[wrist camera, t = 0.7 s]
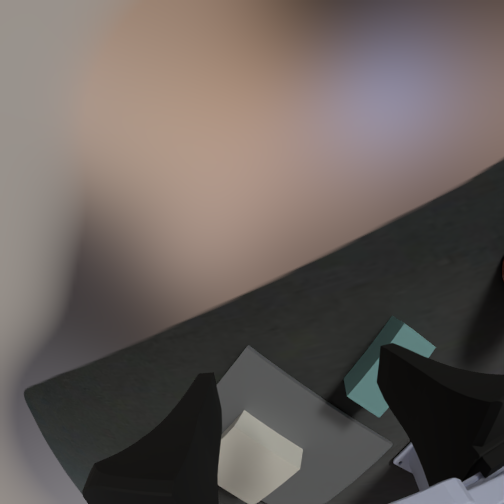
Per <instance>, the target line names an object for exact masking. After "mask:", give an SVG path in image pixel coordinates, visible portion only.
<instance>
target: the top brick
mask: <svg viewBox="0 0 504 504" xmlns="http://www.w3.org/2000/svg"><path fill="white" fill-rule="evenodd" d="M390 343H394V344H397V345H399V346H402V347H404V348H406V349H409V350H411V351H413V352H415V353H418V354H420V355H422V356H424V357H427V358H429V356H430V355H431V353H432V352H433V351H434V349H435V348H436V347H435V346H434V345H432V344H431V343H430V342H428V341H427V340H426V339H424V338H423V337H422V336H421V335H419V334H418V333H417V332H415V331H414V330H413V329H411V328H410V327H409V326H407V325H406V324H405V323H403V322H402V321H400V320H398V319H397V318H395V317H393V316H391V318H390V319H389V321H388V322H387V323H386V325H385V326H384V328H383V329H382V330H381V332H380V333H379V334H378V336H377V337H376V338H375V340H374V341H373V342H372V344H371V345H370V346H369V348H368V349H367V350H366V351H365V353H364V354H363V355H362V357H361V358H360V359H359V360H358V362H357V363H356V364H355V365H354V367H353V368H352V369H351V370H350V371H349V373H348V374H347V375H346V376H345V377H344V384H345V389H346V394H347V397H349V398H350V399H352V400H353V401H355V402H356V403H358V404H359V405H361V406H362V407H364V408H365V409H367V410H368V411H370V412H371V413H373V414H374V415H376V416H378V417H380V416H381V415H382V414H383V413H384V412H385V411H386V410H387V409H388V407H389V406H388V404H387V403H386V401H385V400H384V398H383V396H382V393H381V391H380V389H379V387H378V384H377V375H378V366H379V357H380V346H382V345H386V344H390Z"/></svg>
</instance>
